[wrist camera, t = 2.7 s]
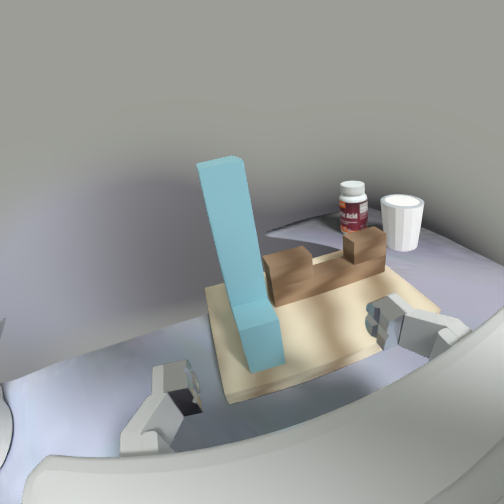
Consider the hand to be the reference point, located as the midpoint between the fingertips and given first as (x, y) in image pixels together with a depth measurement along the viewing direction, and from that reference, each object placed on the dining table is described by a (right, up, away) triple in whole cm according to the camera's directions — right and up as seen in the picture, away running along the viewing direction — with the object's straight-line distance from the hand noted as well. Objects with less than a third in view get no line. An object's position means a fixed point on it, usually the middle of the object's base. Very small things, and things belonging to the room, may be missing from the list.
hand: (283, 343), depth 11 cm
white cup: (+22, +5, +28) cm, 36 cm away
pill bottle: (+16, +7, +35) cm, 39 cm away
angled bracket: (-1, -4, +15) cm, 16 cm away
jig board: (+5, -3, +18) cm, 19 cm away
